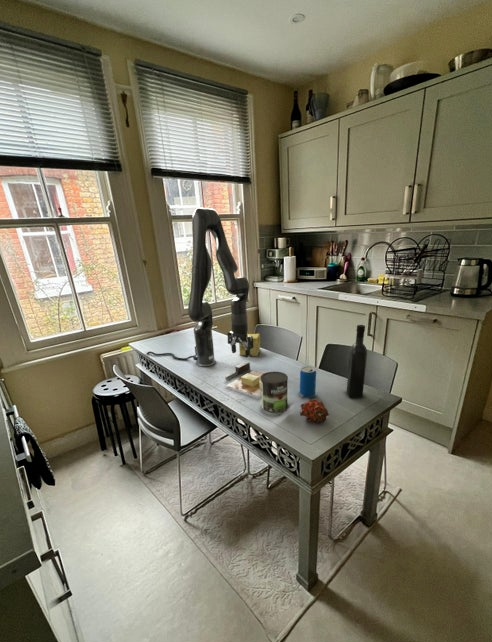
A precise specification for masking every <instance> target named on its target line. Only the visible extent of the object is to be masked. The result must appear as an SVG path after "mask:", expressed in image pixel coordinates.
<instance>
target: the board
mask: <svg viewBox="0 0 492 642" xmlns="http://www.w3.org/2000/svg"><path fill="white" fill-rule="evenodd" d="M264 373H265V372H262V371H259V370H255V369H253V370H251V371H250V372H248V374H251V375H254V376H258V377H259V382H260V383H261V375H262V374H264ZM260 383H259V384H257V385H255V386H254V387H252V386H249V385H246V384H243V383H241V377H239V378H237V379H235V380H233V381H232V382H230V383H229V384H226V386H227V387H230V388H231V389H235V390H238V391H241V392H243V393H246V394H249V395H252V396H255V397H260V396H262V394H261V387H260Z"/></svg>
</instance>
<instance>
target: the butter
mask: <svg viewBox="0 0 492 642" xmlns="http://www.w3.org/2000/svg"><path fill="white" fill-rule="evenodd" d="M248 373H249V372H248ZM248 373H245V374H244V375H242V376H240V378H241V383H243V384H246V385H249V386H252V387H254V386H255V385H257V384H259V383H260V382H259V377H258V376H254V375H251V374H248Z"/></svg>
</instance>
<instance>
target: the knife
mask: <svg viewBox="0 0 492 642" xmlns="http://www.w3.org/2000/svg"><path fill="white" fill-rule="evenodd" d="M250 363H251V362H250V361H243V362H241V363H240V364H239V363H238V365H236V366H234V369H235V371H234V372H232V373H231V374H228V375H227V376H225V381H228V380H229V379H232V378H234V377H235V376H237V375H242V374H243V373H245V372H247V371H249V370H250V368H251V364H250Z"/></svg>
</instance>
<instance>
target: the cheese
mask: <svg viewBox="0 0 492 642" xmlns="http://www.w3.org/2000/svg"><path fill="white" fill-rule="evenodd" d="M247 336H253V348H252V349H250V356H253V357H257V356H258V354H259V352H260V350H261V335H260V333H247ZM245 343H246V342H245ZM238 346H239V347H238V349H239V355H240V356H245V350H246V349H245V348H244V346H243V345H242V344H240V343H238ZM246 346H247V345H246Z"/></svg>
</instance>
